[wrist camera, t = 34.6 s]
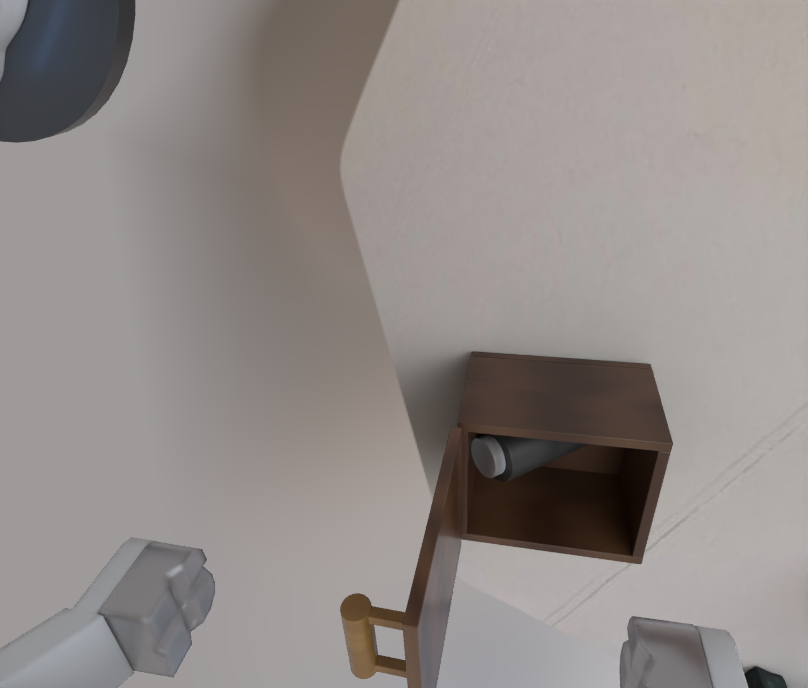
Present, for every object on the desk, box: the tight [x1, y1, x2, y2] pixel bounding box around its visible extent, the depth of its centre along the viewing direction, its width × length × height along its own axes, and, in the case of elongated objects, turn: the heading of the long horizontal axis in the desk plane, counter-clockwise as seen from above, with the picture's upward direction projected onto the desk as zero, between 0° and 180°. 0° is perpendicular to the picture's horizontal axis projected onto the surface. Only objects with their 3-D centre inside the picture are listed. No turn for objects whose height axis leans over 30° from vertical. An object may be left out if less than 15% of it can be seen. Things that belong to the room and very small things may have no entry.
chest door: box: [340, 427, 462, 688], centre depth 38 cm, size 15×13×5 cm
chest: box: [457, 352, 673, 564], centre depth 47 cm, size 15×13×10 cm
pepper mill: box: [471, 433, 589, 482], centre depth 45 cm, size 5×5×10 cm
